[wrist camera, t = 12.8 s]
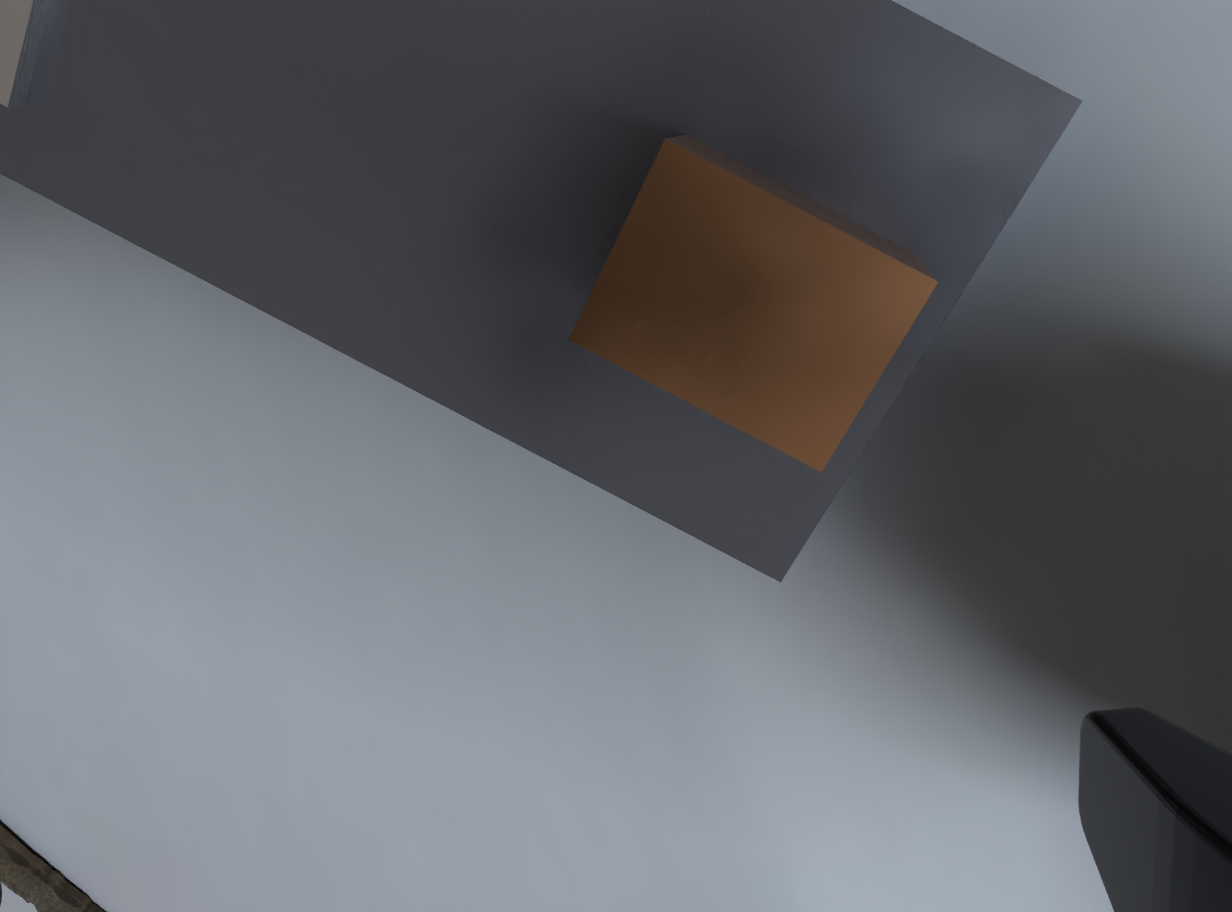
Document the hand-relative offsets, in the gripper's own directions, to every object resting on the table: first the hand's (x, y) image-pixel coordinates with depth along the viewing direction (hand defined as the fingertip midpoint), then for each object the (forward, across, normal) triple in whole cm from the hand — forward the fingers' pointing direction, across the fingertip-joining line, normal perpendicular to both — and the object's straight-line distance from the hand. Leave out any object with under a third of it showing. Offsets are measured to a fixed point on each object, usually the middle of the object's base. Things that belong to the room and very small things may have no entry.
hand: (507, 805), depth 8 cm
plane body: (+14, +5, -7) cm, 16 cm away
